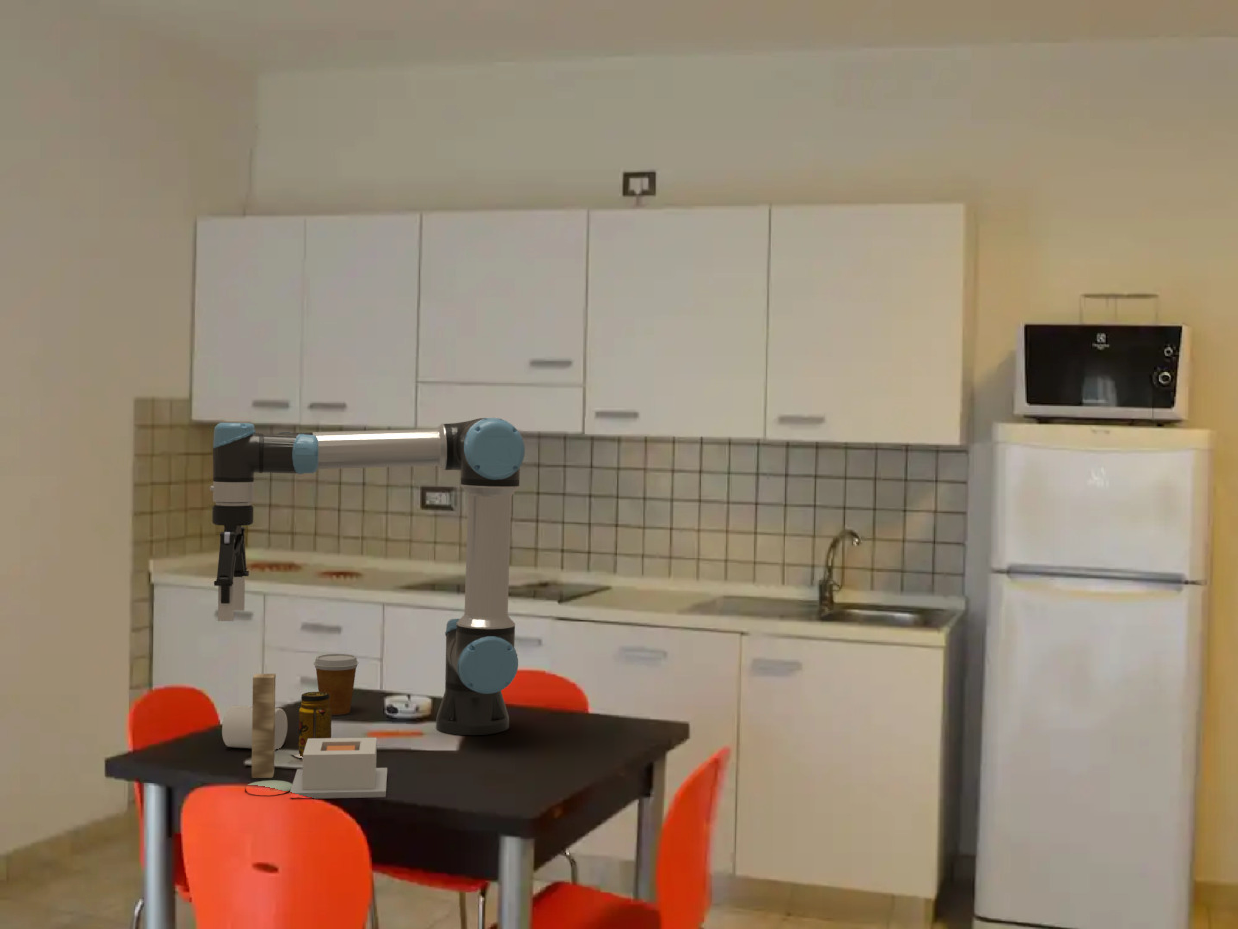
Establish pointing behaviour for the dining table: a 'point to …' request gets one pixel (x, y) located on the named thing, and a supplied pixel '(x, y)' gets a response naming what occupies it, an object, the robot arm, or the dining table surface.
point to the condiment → (314, 718)
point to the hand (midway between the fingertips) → (231, 615)
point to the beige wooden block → (263, 726)
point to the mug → (249, 727)
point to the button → (340, 748)
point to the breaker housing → (340, 770)
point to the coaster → (274, 784)
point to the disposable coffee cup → (337, 680)
